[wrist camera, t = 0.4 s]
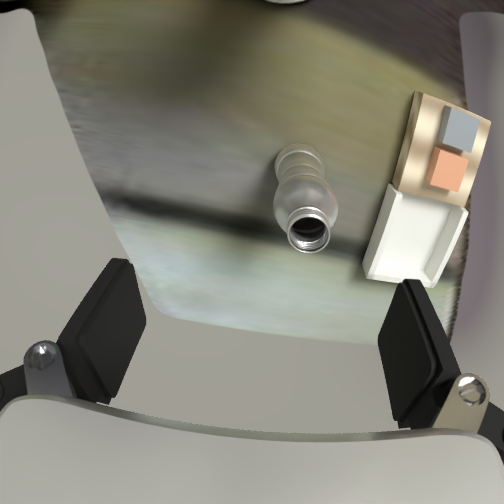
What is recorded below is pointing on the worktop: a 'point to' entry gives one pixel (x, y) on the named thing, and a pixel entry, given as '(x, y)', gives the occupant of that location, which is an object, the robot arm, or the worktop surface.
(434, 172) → the terracotta tile
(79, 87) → the worktop surface
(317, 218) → the plastic bottle
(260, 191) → the worktop surface
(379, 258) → the box
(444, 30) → the worktop surface
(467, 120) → the slate tile
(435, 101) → the plate
